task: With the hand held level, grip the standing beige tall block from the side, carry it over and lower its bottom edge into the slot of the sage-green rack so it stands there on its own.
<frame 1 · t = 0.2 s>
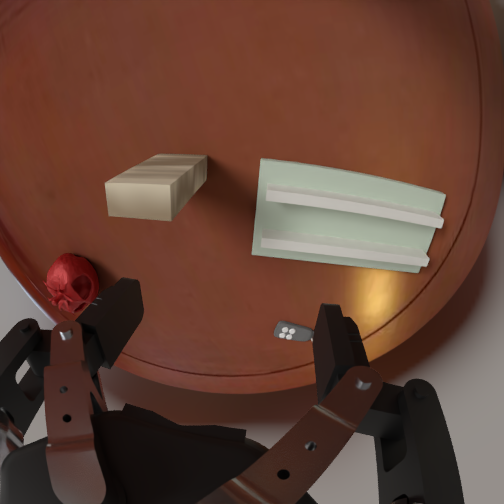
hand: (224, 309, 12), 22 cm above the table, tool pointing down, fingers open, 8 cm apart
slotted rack: (353, 219, 32), on the table
beige tall block: (182, 166, 31), on the table
pomegranate: (83, 271, 41), on the table
key chain: (313, 332, 43), on the table
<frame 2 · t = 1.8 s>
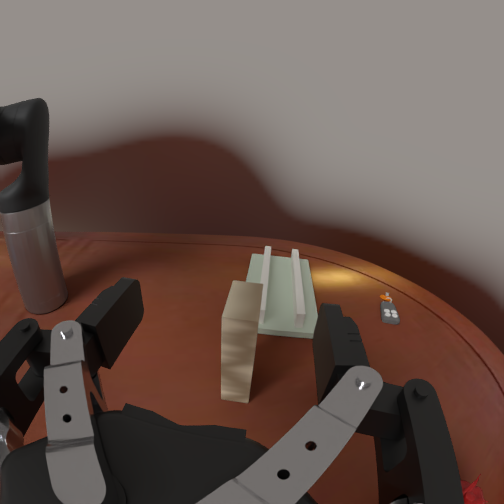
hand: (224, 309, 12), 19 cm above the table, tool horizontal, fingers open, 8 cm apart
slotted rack: (279, 290, 49), on the table
beige tall block: (238, 381, 30), on the table
key chain: (385, 306, 47), on the table
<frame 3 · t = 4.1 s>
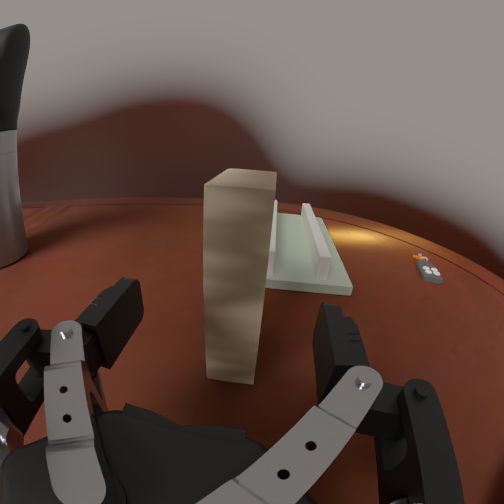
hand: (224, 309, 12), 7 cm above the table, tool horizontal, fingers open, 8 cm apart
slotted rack: (289, 244, 38), on the table
beige tall block: (236, 350, 19), on the table
key chain: (420, 266, 36), on the table
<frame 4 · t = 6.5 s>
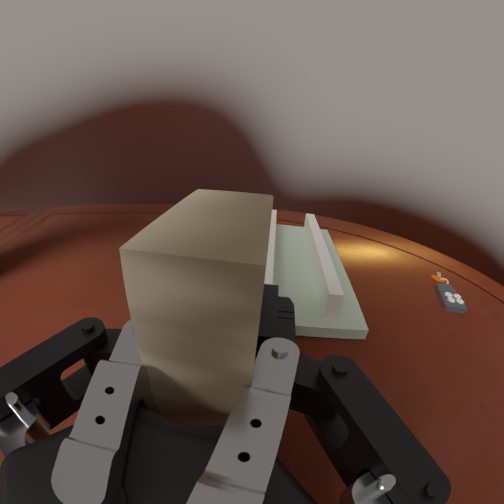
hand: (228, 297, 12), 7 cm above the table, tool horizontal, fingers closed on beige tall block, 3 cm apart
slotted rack: (290, 266, 32), on the table
beige tall block: (218, 429, 13), on the table, touching gripper
key chain: (440, 290, 30), on the table
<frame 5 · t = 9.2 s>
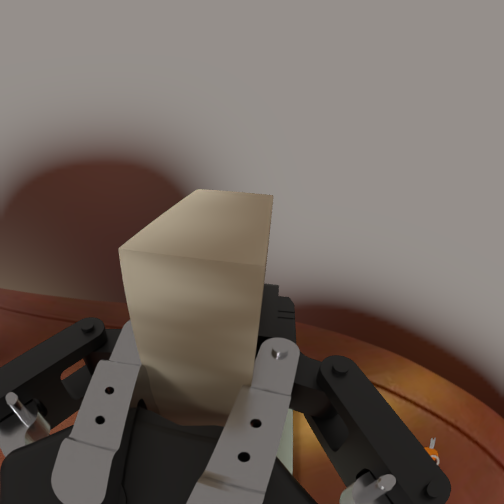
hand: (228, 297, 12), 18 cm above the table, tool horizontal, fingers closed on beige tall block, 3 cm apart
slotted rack: (222, 469, 18), on the table
beige tall block: (218, 429, 13), point 11 cm above the table, touching gripper
when the fingers open (10 cm above the table, at t = 12.0 s): beige tall block drops 1 cm, resting on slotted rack.
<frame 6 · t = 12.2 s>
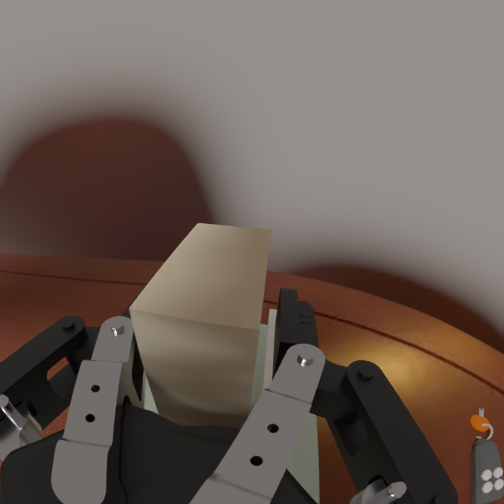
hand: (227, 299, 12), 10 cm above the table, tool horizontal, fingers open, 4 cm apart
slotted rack: (218, 446, 14), on the table
beige tall block: (219, 438, 13), point 1 cm above the table, touching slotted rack
key chain: (477, 443, 12), on the table
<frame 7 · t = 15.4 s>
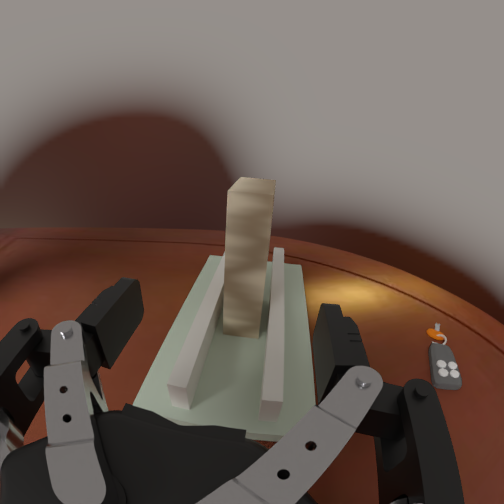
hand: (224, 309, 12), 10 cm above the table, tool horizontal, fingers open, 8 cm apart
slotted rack: (243, 324, 26), on the table
beige tall block: (244, 315, 25), point 1 cm above the table, touching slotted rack
key chain: (435, 349, 23), on the table
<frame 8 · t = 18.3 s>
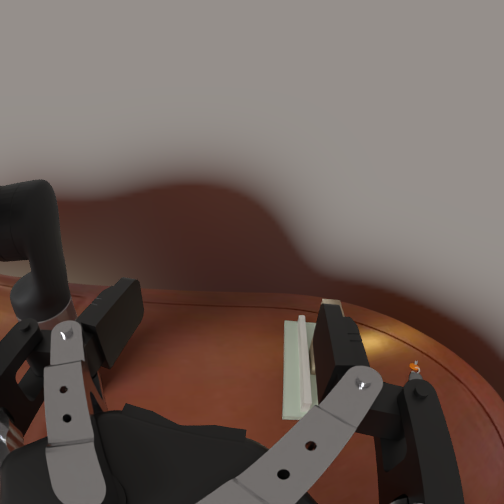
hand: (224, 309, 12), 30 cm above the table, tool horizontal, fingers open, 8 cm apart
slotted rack: (316, 366, 46), on the table
beige tall block: (317, 362, 46), point 1 cm above the table, touching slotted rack
key chain: (413, 375, 43), on the table
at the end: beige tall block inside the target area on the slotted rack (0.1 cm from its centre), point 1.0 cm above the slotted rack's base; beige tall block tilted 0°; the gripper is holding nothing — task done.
